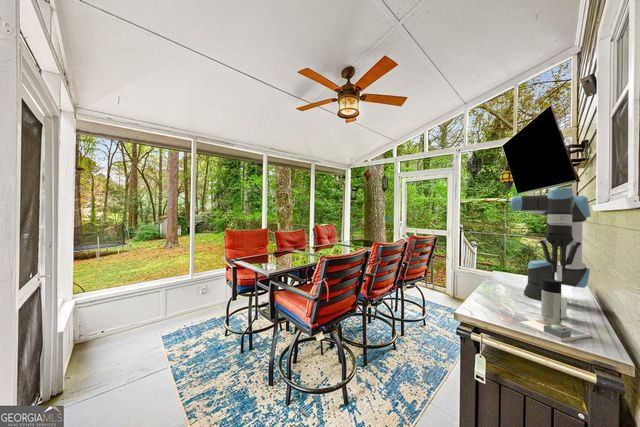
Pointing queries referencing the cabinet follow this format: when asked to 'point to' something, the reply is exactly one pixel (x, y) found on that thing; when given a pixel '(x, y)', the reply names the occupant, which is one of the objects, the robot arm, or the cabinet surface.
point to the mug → (563, 306)
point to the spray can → (551, 302)
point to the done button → (557, 327)
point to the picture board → (546, 329)
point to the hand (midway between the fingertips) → (558, 280)
